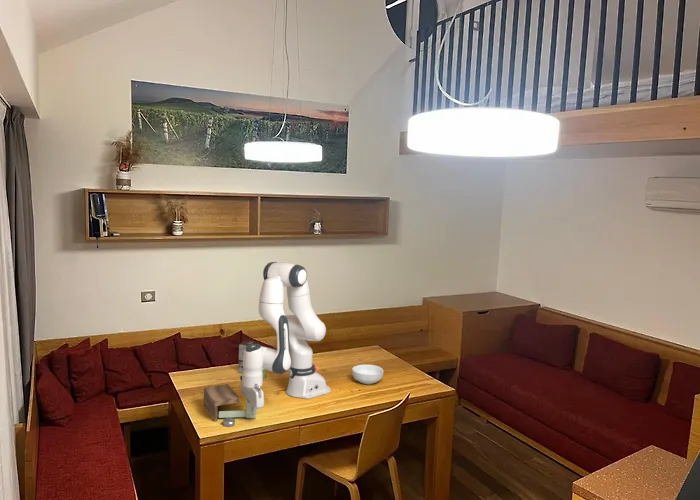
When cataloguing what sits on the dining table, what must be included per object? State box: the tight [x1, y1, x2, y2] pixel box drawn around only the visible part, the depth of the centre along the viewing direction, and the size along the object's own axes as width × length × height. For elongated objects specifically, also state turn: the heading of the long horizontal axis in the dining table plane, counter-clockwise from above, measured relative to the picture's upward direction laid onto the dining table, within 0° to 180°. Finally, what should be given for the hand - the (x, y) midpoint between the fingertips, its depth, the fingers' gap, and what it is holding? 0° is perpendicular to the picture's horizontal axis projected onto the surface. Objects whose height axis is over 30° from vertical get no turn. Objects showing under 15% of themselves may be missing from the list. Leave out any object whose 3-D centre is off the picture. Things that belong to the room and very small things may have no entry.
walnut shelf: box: [203, 383, 241, 422], centre depth 253 cm, size 11×18×9 cm, turn 30°
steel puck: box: [222, 417, 236, 428], centre depth 241 cm, size 5×5×2 cm
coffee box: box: [238, 340, 258, 374], centre depth 306 cm, size 9×6×16 cm
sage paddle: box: [218, 399, 257, 419], centre depth 247 cm, size 16×4×7 cm, turn 104°
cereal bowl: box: [351, 364, 384, 385], centre depth 298 cm, size 17×17×7 cm
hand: (252, 410), depth 249 cm, fingers closed on sage paddle, 5 cm apart
